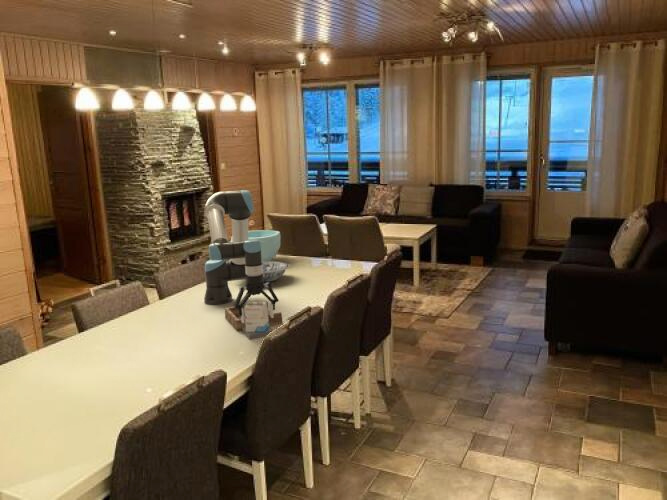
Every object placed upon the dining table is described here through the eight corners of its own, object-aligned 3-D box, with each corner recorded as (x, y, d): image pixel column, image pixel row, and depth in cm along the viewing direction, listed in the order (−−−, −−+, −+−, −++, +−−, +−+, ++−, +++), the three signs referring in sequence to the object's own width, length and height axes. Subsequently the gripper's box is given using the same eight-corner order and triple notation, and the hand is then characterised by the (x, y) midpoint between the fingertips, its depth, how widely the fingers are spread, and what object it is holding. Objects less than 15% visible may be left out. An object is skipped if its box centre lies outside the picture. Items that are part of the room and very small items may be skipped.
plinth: (242, 331, 260) (241, 327, 260) (267, 326, 265) (266, 322, 264) (249, 339, 249) (249, 335, 249) (275, 334, 254) (275, 330, 254)
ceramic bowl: (301, 277, 356) (300, 262, 354) (266, 291, 327) (265, 274, 325) (259, 272, 374) (258, 257, 372) (222, 285, 346) (221, 269, 344)
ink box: (269, 326, 260) (267, 297, 257) (264, 332, 252) (261, 303, 249) (251, 325, 262) (249, 297, 259) (245, 331, 253) (243, 303, 251)
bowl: (238, 260, 415) (235, 231, 411) (285, 258, 414) (283, 229, 409) (227, 271, 381) (225, 239, 376) (279, 269, 379) (277, 237, 375)
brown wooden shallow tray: (225, 317, 281) (224, 308, 280) (267, 310, 290) (267, 301, 289) (237, 331, 261) (236, 320, 260) (282, 323, 269) (281, 313, 268)
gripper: (228, 279, 243) (232, 326, 248) (283, 272, 253) (286, 317, 257) (224, 276, 250) (228, 322, 254) (278, 268, 260) (281, 313, 264)
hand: (257, 319), depth 256 cm, fingers open, 13 cm apart
